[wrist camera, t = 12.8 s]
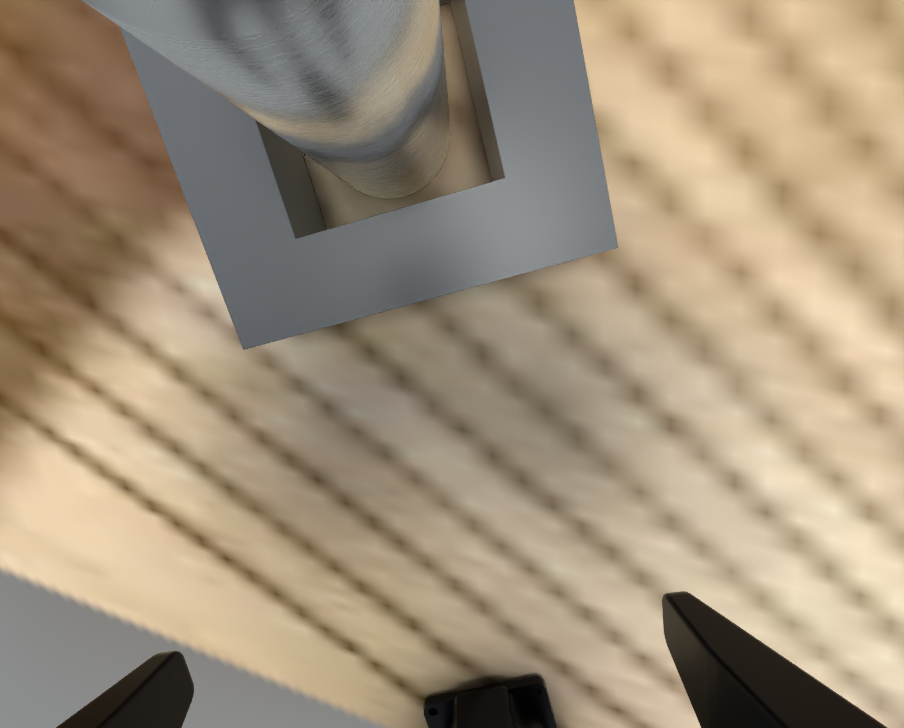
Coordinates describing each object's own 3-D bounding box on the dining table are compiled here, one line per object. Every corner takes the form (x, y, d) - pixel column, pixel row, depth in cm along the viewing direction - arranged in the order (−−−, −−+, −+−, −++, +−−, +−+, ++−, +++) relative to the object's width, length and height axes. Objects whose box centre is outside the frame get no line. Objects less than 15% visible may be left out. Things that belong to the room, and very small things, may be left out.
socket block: (584, 251, 18) (618, 247, 14) (288, 331, 19) (243, 349, 15) (510, -122, 15) (527, -255, 11) (168, -4, 16) (76, -88, 12)
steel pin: (429, 215, 18) (346, 97, 5) (310, 176, 18) (-83, -47, 5) (467, 83, 17) (480, -484, 4) (340, 40, 16) (-71, -706, 4)
